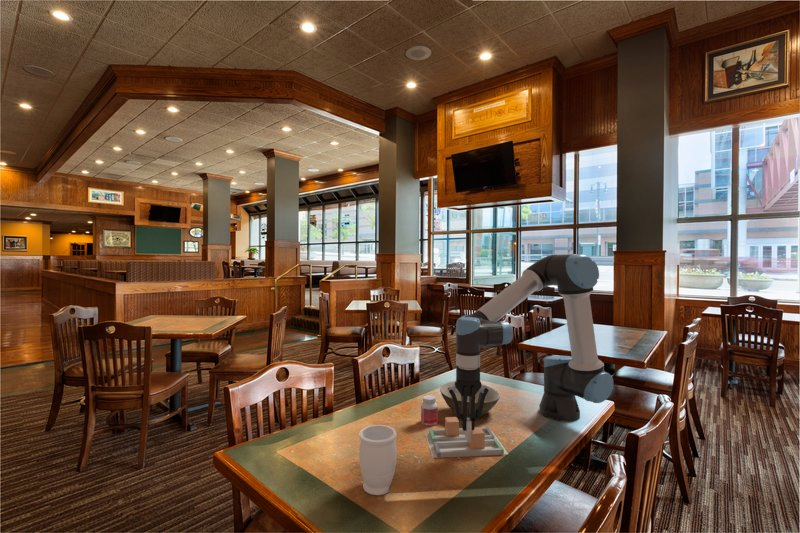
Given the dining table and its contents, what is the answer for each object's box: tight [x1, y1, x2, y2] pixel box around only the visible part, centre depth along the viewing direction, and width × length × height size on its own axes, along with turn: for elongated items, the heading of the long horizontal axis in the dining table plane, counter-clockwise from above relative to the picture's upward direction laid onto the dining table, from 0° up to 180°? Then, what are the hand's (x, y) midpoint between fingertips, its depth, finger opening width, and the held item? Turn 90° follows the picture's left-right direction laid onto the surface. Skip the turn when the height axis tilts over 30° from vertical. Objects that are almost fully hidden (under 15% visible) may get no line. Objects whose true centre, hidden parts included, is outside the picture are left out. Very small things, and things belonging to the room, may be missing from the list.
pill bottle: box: [420, 394, 439, 427], centre depth 143 cm, size 6×6×11 cm
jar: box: [358, 424, 398, 496], centre depth 105 cm, size 11×10×15 cm
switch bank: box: [424, 426, 509, 459], centre depth 127 cm, size 24×16×3 cm, turn 95°
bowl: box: [439, 380, 501, 418], centre depth 154 cm, size 24×24×10 cm
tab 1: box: [444, 416, 460, 437], centre depth 131 cm, size 4×4×6 cm
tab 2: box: [469, 427, 485, 449], centre depth 122 cm, size 4×4×6 cm
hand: (468, 439), depth 122 cm, fingers closed
